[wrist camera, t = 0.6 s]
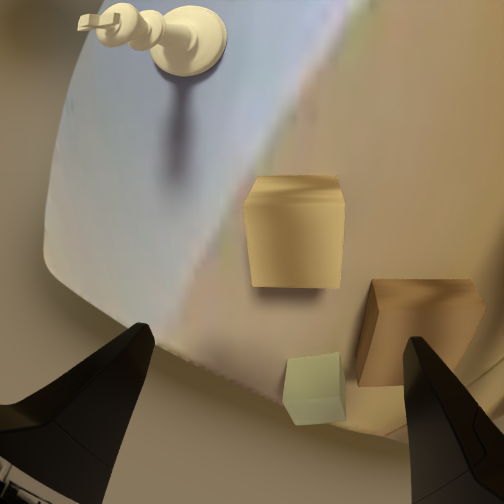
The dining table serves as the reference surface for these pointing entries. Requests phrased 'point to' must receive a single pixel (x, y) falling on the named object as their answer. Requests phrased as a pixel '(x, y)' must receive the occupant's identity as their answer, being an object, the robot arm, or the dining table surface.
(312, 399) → the sage block
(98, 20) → the chess piece
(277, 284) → the oak cube
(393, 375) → the pedestal
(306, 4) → the dining table surface
